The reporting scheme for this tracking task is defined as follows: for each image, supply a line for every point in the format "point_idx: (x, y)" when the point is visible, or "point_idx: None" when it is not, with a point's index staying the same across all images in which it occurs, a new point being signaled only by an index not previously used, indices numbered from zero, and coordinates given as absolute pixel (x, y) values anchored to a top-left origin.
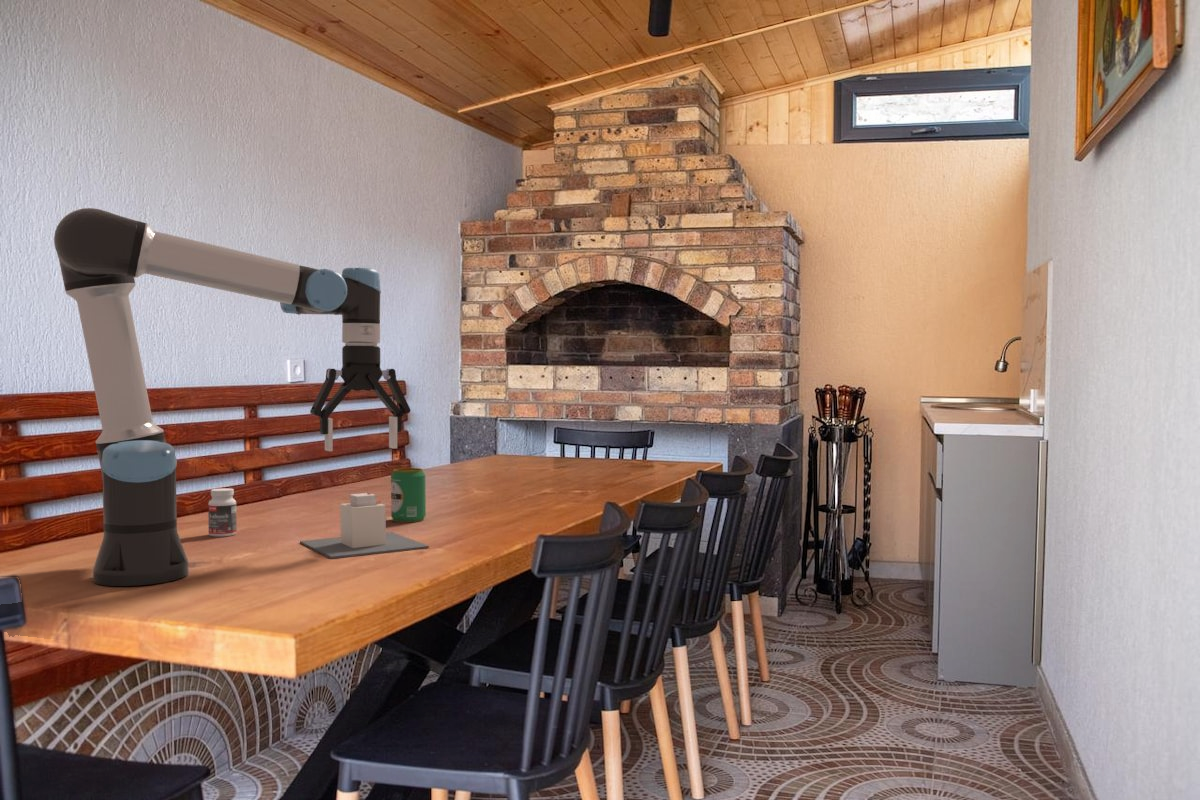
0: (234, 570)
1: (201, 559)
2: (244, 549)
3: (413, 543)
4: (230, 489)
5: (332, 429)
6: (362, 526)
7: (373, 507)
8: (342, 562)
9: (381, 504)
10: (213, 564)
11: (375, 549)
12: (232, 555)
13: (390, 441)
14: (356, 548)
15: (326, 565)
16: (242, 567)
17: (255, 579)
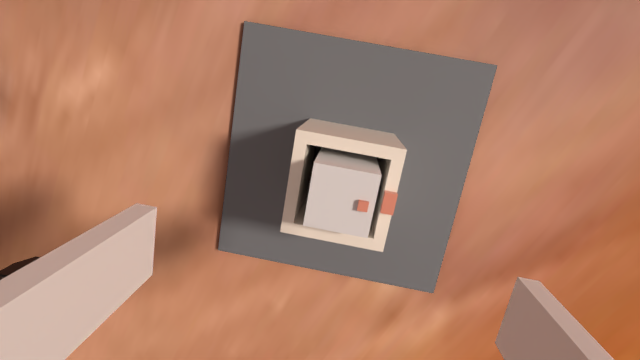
0: (36, 217)
1: (3, 62)
2: (109, 7)
3: (428, 246)
4: None
5: (70, 352)
6: None
7: (345, 243)
8: (221, 291)
9: (383, 230)
10: (14, 134)
11: (325, 247)
12: (68, 64)
13: (527, 320)
14: None
15: (186, 293)
16: (55, 202)
17: None
